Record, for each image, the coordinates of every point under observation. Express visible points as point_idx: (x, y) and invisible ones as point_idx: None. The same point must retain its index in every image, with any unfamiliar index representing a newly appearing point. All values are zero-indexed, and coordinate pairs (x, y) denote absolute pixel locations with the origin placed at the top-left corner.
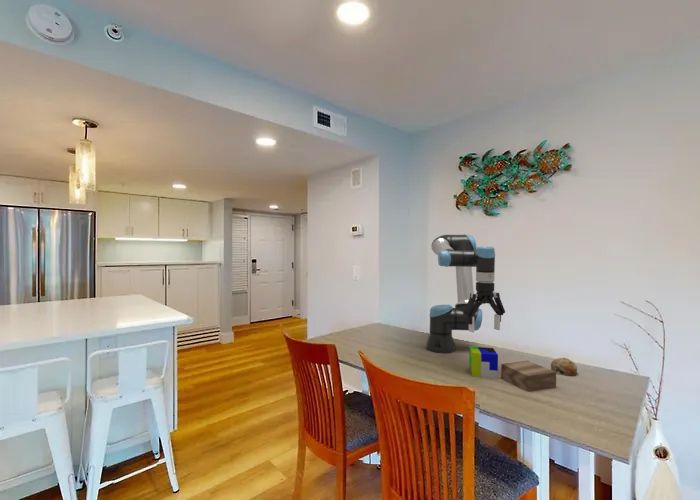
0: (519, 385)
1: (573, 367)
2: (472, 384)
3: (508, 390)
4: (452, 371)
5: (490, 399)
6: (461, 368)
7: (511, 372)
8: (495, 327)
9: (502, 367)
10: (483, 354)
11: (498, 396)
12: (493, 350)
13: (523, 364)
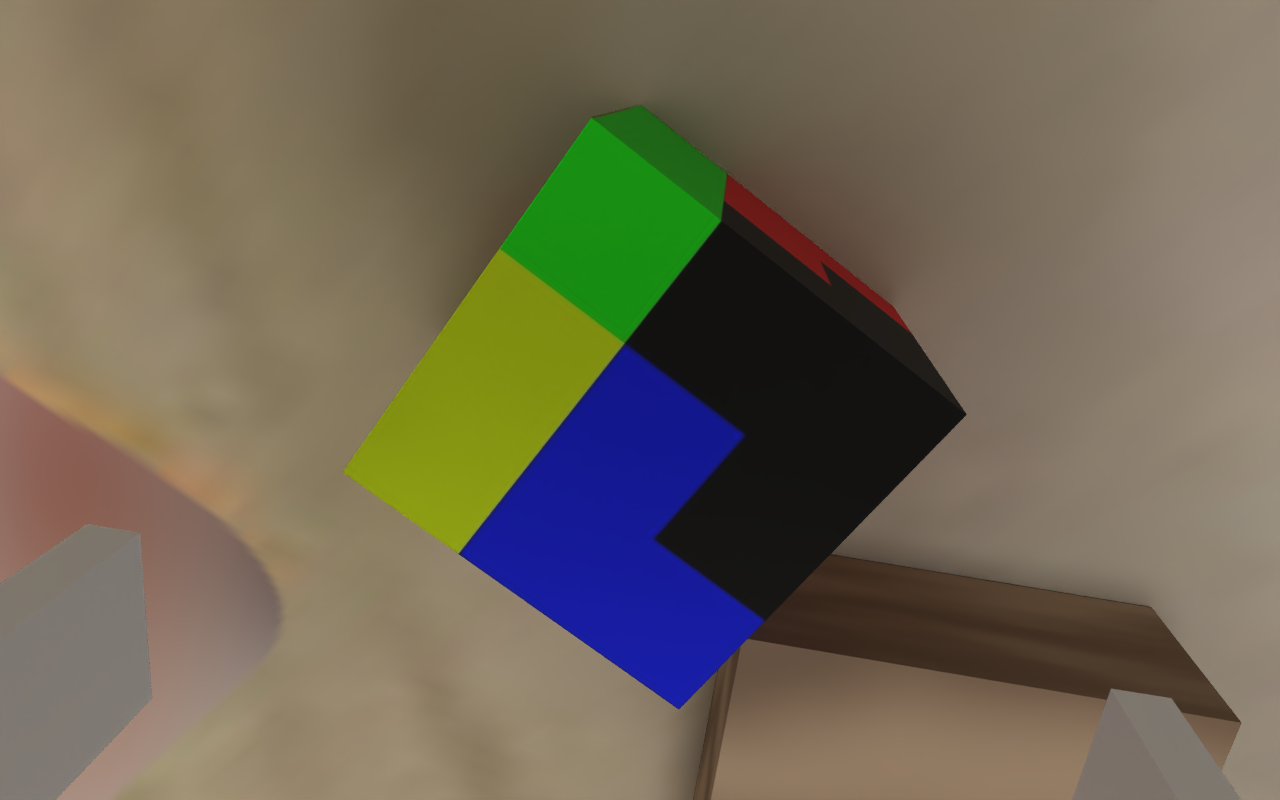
0: (699, 779)
1: None
2: (298, 516)
3: (535, 758)
4: (325, 103)
5: (237, 791)
6: (525, 62)
7: (712, 756)
8: (1113, 786)
9: None
10: (491, 571)
11: (346, 788)
12: (821, 526)
13: (1007, 781)
